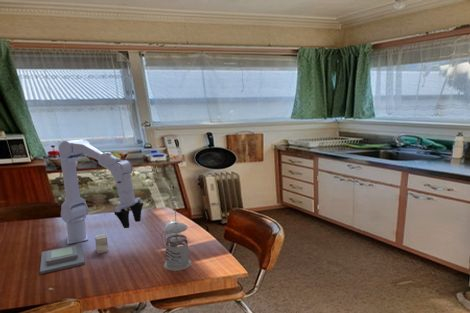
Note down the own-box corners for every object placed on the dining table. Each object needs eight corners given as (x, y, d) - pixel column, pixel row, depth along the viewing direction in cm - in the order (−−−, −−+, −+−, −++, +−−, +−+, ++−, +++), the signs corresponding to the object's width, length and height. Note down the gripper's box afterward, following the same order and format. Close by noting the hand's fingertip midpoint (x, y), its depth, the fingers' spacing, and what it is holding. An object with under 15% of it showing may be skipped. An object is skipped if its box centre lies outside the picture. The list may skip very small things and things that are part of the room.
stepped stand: (42, 254, 124) (41, 247, 124) (81, 246, 131) (80, 240, 131) (40, 274, 109) (39, 266, 108) (84, 264, 116) (84, 257, 115)
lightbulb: (178, 250, 125) (177, 224, 124) (163, 249, 126) (162, 223, 125) (184, 244, 131) (183, 218, 130) (170, 243, 133) (168, 218, 131)
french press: (178, 273, 108) (175, 202, 104) (154, 265, 114) (150, 197, 110) (197, 261, 116) (194, 195, 112) (173, 254, 122) (170, 191, 118)
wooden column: (96, 250, 128) (95, 235, 127) (106, 247, 129) (105, 233, 129) (97, 253, 124) (96, 239, 123) (108, 251, 126) (107, 237, 125)
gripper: (123, 194, 116) (130, 230, 117) (144, 186, 130) (150, 218, 131) (107, 196, 118) (114, 231, 120) (130, 187, 132) (136, 219, 133)
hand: (132, 224), depth 126 cm, fingers open, 7 cm apart
